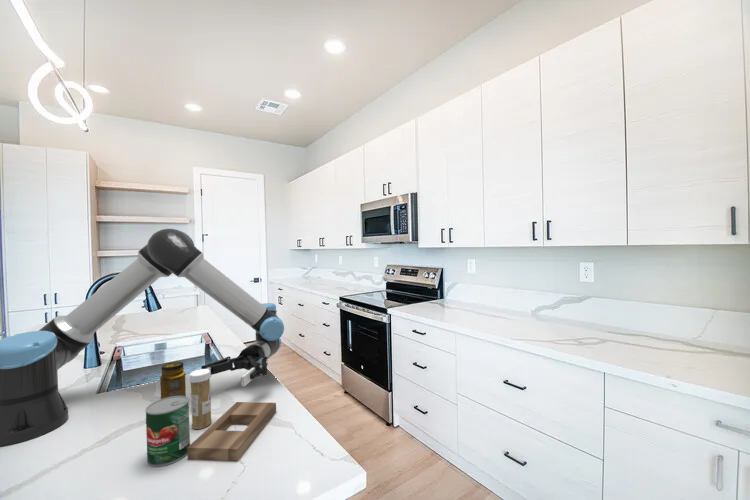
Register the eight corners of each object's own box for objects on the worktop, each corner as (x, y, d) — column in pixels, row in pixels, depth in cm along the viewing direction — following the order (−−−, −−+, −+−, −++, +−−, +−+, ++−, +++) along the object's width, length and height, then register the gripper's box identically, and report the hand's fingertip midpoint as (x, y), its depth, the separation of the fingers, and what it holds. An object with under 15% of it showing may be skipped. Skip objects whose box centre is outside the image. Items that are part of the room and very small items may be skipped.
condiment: (190, 399, 96) (188, 358, 96) (184, 412, 89) (182, 368, 88) (161, 404, 94) (159, 362, 94) (152, 418, 86) (151, 373, 86)
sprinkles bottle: (213, 425, 81) (211, 372, 81) (192, 432, 79) (190, 376, 79) (210, 418, 85) (208, 366, 85) (190, 423, 83) (188, 370, 82)
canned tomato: (142, 471, 65) (140, 416, 65) (151, 449, 72) (150, 400, 72) (188, 460, 68) (186, 407, 68) (192, 440, 76) (190, 392, 75)
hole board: (187, 459, 68) (187, 447, 68) (237, 411, 88) (236, 401, 88) (237, 461, 67) (237, 449, 67) (276, 411, 87) (275, 402, 87)
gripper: (290, 366, 109) (263, 395, 88) (219, 366, 112) (176, 394, 90) (290, 344, 109) (262, 368, 88) (219, 344, 111) (175, 367, 90)
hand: (218, 381), depth 89 cm, fingers open, 13 cm apart
